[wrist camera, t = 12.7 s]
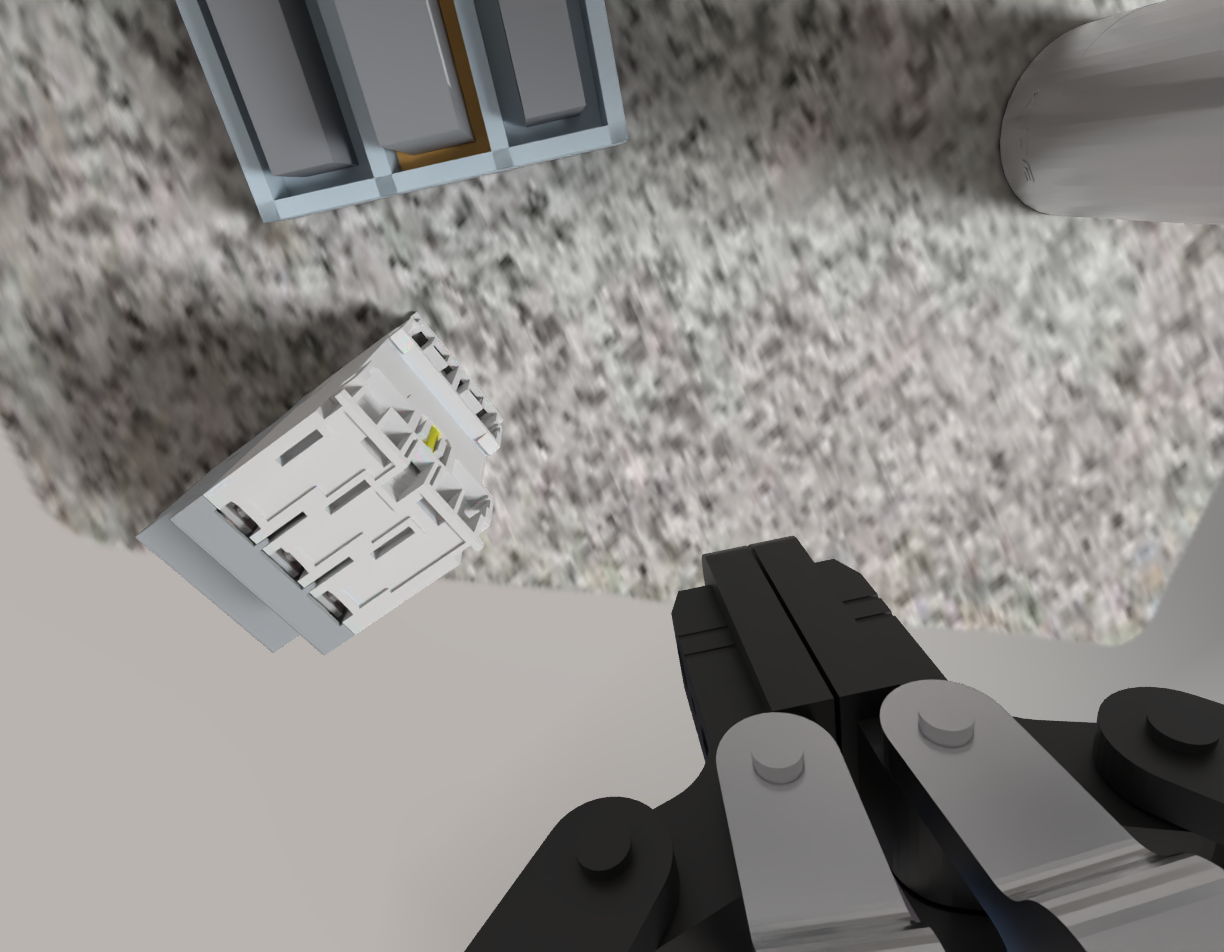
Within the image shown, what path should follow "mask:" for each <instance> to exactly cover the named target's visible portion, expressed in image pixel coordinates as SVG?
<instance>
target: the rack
mask: <svg viewBox="0 0 1224 952" xmlns="http://www.w3.org/2000/svg"><path fill="white" fill-rule="evenodd" d="M175 1H176V3H177V6H178V8H179V11H180V13H181V16H182V18H183V21H184V23H185V26H186V28H187V31H188V34H189V36H190V39H191V41H192V44H193V46H194V49H195V51H196V54H197V56H198V59H199V61H200V64H201V66H202V69H203V71H204V74H205V76H206V79H207V82H208V84H209V87H210V89H211V92H212V94H213V97H214V99H215V102H216V104H217V107H218V109H219V112H220V114H221V117H222V119H223V122H224V124H225V127H226V130H227V132H228V135H229V137H230V140H231V142H232V145H233V147H234V150H235V152H236V155H237V157H238V160H239V162H240V165H241V167H242V170H243V172H244V175H245V178H246V180H247V183H248V185H249V188H250V190H251V193H252V195H253V198H254V200H255V203H256V205H257V208H258V210H259V213H260V215H261V218H262V220H263V223H269V222H276V221H283V220H290V219H295V218H299V217H303V216H308V215H312V214H317V213H321V212H325V211H330V210H334V209H339V208H343V207H347V206H352V205H356V204H361V203H365V202H370V201H374V200H378V199H383V198H387V197H392V196H396V195H400V194H405V193H409V192H414V191H418V190H423V189H427V188H431V187H436V186H440V185H445V184H449V183H453V182H458V181H462V180H467V179H471V178H475V177H480V176H484V175H489V174H493V173H498V172H502V171H506V170H511V169H515V168H520V167H524V166H528V165H533V164H537V163H542V162H546V161H551V160H555V159H559V158H564V157H568V156H573V155H577V154H581V153H586V152H590V151H595V150H599V149H603V148H608V147H612V146H617V145H620V144H623V143H625V142H627V141H629V138H628V132H627V127H626V121H625V115H624V110H623V104H622V98H621V93H620V87H619V81H618V75H617V70H616V64H615V58H614V53H613V47H612V41H611V36H610V30H609V24H608V19H607V13H606V7H605V1H604V0H439V2H440V6H441V10H442V14H443V18H444V22H445V25H446V29H447V33H448V37H449V41H450V45H451V48H452V52H453V56H454V60H455V64H456V68H457V72H458V75H459V79H460V83H461V87H462V91H463V95H464V98H465V102H466V106H467V110H468V114H469V118H470V122H471V125H472V129H473V133H474V137H475V141H476V142H472V143H468V144H464V145H459V146H455V147H450V148H446V149H441V150H437V151H432V152H428V153H424V154H419V155H415V156H414V155H410V154H407V153H403V152H399V151H395V150H391V149H387V148H383V147H380V146H379V142H378V139H377V136H376V133H375V130H374V126H373V123H372V120H371V117H370V114H369V110H368V107H367V104H366V101H365V98H364V95H363V91H362V88H361V85H360V82H359V79H358V75H357V72H356V69H355V66H354V63H353V60H352V56H351V53H350V50H349V47H348V44H347V40H346V37H345V34H344V31H343V28H342V24H341V21H340V18H339V15H338V12H337V9H336V5H335V2H334V0H175Z"/></svg>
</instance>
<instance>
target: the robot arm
mask: <svg viewBox="0 0 1224 952" xmlns="http://www.w3.org/2000/svg"><path fill="white" fill-rule="evenodd" d="M1000 150H1001V162H1002V166H1003V169H1004V173H1005V176H1006V179H1007V181H1008V183H1009V185H1010V186H1011V188H1012V190H1013V192H1014V193H1015V194H1016V195H1017V196H1018V197H1019V198H1020V199H1021V200H1022V202H1023V203H1024V204H1026V205H1028V206H1029V207H1031V208H1033V209H1034V210H1036V211H1038V212H1042V213H1046V214H1050V215H1056V216H1074V217H1092V218H1106V219H1121V220H1139V221H1156V222H1174V223H1192V224H1209V225H1224V0H1166V1H1162V2H1159V3H1155V4H1151V5H1147V6H1144V7H1140V8H1137V9H1134V10H1130V11H1127V12H1123V13H1120V14H1117V15H1113V16H1110V17H1106V18H1103V19H1100V20H1096V21H1093V22H1089V23H1086V24H1083V25H1081V26H1078V27H1076V28H1074V29H1072V30H1070V31H1068V32H1065V33H1064V34H1062V35H1061V36H1060V37H1058V38H1057V39H1055V40H1054V41H1053V42H1051V43H1050V44H1049V45H1047V46H1046V47H1045V48H1044V49H1043V50H1042V51H1041V52H1040V53H1039V54H1038V55H1037V56H1036V57H1035V59H1034V60H1033V61H1032V62H1031V63H1030V64H1029V66H1028V67H1027V69H1026V70H1025V72H1024V73H1023V75H1022V76H1021V77H1020V79H1019V80H1018V82H1017V84H1016V87H1015V89H1014V91H1013V93H1012V95H1011V97H1010V99H1009V101H1008V105H1007V108H1006V111H1005V115H1004V118H1003V122H1002V130H1001V138H1000ZM702 567H703V574H704V581H705V586H702V587H697V588H692V589H688V590H683V591H678V594H677V597H676V601H675V604H674V607H673V610H672V613H671V614H672V620H673V625H674V631H675V637H676V643H677V649H678V654H679V660H680V666H681V672H682V677H683V683H684V688H685V692H686V695H687V699H688V702H689V706H690V710H691V712H692V716H693V720H694V723H695V727H696V731H697V733H698V737H699V741H700V745H701V748H702V752H703V755H704V759H705V766H704V768H703V770H702V771H701V773H700V775H699V776H698V777H697V779H696V780H695V781H694V782H693V783H692V784H691V785H690V786H689V787H688V788H687V789H686V790H685V791H683V792H682V793H680V794H679V795H677V796H676V797H674V798H673V799H671V800H669V801H667V802H665V803H664V804H662V805H660V806H658V807H656V808H655V809H651V808H650V807H649V806H647V805H645V804H643V803H641V802H640V801H637V800H633V799H630V798H624V797H606V798H599V799H596V800H592V801H589V802H587V803H585V804H583V805H581V806H578V807H577V808H575V809H574V810H572V811H571V812H569V813H568V814H567V815H566V816H565V817H563V818H562V819H561V820H560V821H559V822H558V824H557V825H556V826H555V827H554V828H553V830H552V831H551V832H550V834H549V835H548V836H547V838H546V839H545V841H544V842H543V844H542V845H541V846H540V848H539V849H538V850H537V852H536V853H535V855H534V856H533V857H532V859H531V860H530V862H529V863H528V864H527V866H526V867H525V868H524V870H523V871H522V872H521V874H520V875H519V877H518V878H517V879H516V881H515V882H514V884H513V885H512V886H511V888H510V889H509V890H508V892H507V893H506V895H505V896H504V897H503V899H502V900H501V902H500V903H499V904H498V906H497V907H496V909H495V910H494V911H493V913H492V914H491V915H490V917H489V918H488V920H487V921H486V922H485V924H484V925H483V926H482V928H481V929H480V931H479V932H478V933H477V935H476V936H475V938H474V939H473V940H472V942H471V943H470V944H469V946H468V947H467V949H466V950H465V951H464V952H1224V705H1223V704H1220V703H1217V702H1214V701H1211V700H1208V699H1205V698H1201V697H1199V696H1196V695H1192V694H1189V693H1185V692H1181V691H1176V690H1172V689H1167V688H1156V687H1136V688H1128V689H1125V690H1121V691H1118V692H1116V693H1114V694H1111V695H1110V696H1109V697H1107V698H1106V699H1105V700H1104V701H1103V703H1102V704H1101V706H1100V708H1099V712H1098V717H1097V723H1087V722H1067V721H1046V720H1032V719H1022V718H1018V717H1012V716H1011V715H1010V714H1009V713H1008V712H1007V711H1006V710H1005V709H1004V708H1003V707H1002V706H1001V705H999V704H998V703H997V702H996V701H995V700H994V699H992V698H991V697H989V696H987V695H986V694H984V693H982V692H980V691H978V690H976V689H974V688H971V687H969V686H966V685H964V684H960V683H956V682H952V681H948V680H947V679H946V678H945V677H944V675H943V674H942V673H941V672H940V670H939V669H938V668H937V667H936V665H935V664H934V663H933V662H932V661H931V659H930V658H929V657H928V656H927V654H926V653H925V652H924V651H923V650H922V648H921V647H920V646H919V645H918V643H917V642H916V641H915V640H914V639H913V637H912V636H911V635H910V634H909V632H908V631H907V630H906V629H905V627H904V626H903V625H902V624H901V622H900V621H899V620H898V619H897V618H896V616H893V615H892V613H891V610H890V609H889V608H888V606H887V605H886V604H885V603H884V602H883V600H882V599H881V598H878V595H877V593H876V592H875V591H874V589H873V588H872V587H871V586H870V584H869V583H868V582H867V581H866V579H865V578H864V577H863V576H862V575H861V574H860V573H859V572H857V571H855V570H853V569H851V568H849V567H848V566H846V565H844V564H842V563H840V562H839V561H837V560H835V559H831V560H826V561H821V562H817V563H814V562H813V560H812V559H811V558H810V556H809V555H808V553H807V552H806V551H805V549H804V548H803V546H802V545H801V544H800V542H799V541H798V539H797V538H796V537H795V536H789V537H784V538H779V539H775V540H770V541H765V542H760V543H755V544H750V545H749V546H748V547H747V546H742V547H737V548H732V549H727V550H722V551H718V552H713V553H708V554H703V555H702Z"/></svg>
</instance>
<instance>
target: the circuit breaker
mask: <svg viewBox="0 0 1224 952" xmlns="http://www.w3.org/2000/svg"><path fill="white" fill-rule="evenodd" d="M419 332H422V333H423V334H424V335H425V337H426V338H427V339H428V341H427V342H426V344H424V345H423V346H422V347H419V345H418V344H417V343H416V342H415V341H414V339H413V338H412V336H413V335H415V334H417V333H419ZM434 345H435V347H436V348H437V349H438V350H439V352H440V353H441V354H442V355H443V356H444V358H445V360H444V359H443V357H442V356H441V355H440V354H439V352H438V351H437V350H436V349H435V348H434ZM448 365H449V366H450V367H451V369H452V370H453V371H451V372H450V373H448V374H446V373H445V372H444V371H443V369H444V368H446V367H447V366H448ZM460 380H461V381H462V382H463V383H464V384H462V385H461V386H459V387H458V385H459V382H460ZM470 390H471V391H472V392H473V393H474V394H475V396H476V397H477V398H478V399H479V401H478V400H477V399H476V398H475V397H474V395H473V394H472V393H471V392H470ZM483 408H484V409H485V410H486V411H487V413H485V414H484V415H483V416H481V417H480V418H478V417H477V416H476V414H477V413H478V412H479V411H481V410H482V409H483ZM503 420H504V419H503V418H502V416H501V415H500V414H499V413H498V411H497V410H496V409H495V408H494V407H493V405H492V404H491V403H490V402H489V400H488V399H487V398H486V397H485V395H484V394H483V393H482V392H481V390H480V389H479V388H478V387H477V385H476V384H475V383H474V382H473V381H472V379H471V378H470V377H469V376H468V374H467V373H466V372H465V371H464V369H463V368H462V367H461V366H460V364H459V363H458V362H457V361H456V360H455V358H454V357H453V356H452V355H451V353H450V352H449V351H448V350H447V348H446V347H445V346H444V345H443V343H442V342H441V341H440V340H439V338H438V337H437V336H436V335H435V334H434V332H433V331H432V330H431V329H430V327H429V326H428V325H427V324H426V322H425V321H424V320H423V319H422V317H421V316H420V315H419V314H418V312H416V313H414V314H413V315H412V316H410V319H408V320H407V321H406V322H404V323H403V324H402V325H400V326H399V327H398V326H397V327H396V328H394V329H393V330H392V331H390V332H389V333H388V334H386V335H385V336H384V337H382V338H381V339H380V340H378V341H377V342H376V343H374V344H373V345H372V346H370V347H369V348H368V349H366V350H365V351H364V352H362V353H361V354H360V355H358V356H357V357H356V358H354V359H353V360H352V361H350V362H349V363H348V364H346V365H345V366H344V367H342V368H341V369H340V370H338V371H337V372H336V373H334V374H333V375H332V376H330V377H329V378H328V379H326V380H325V381H324V382H322V383H321V384H320V385H318V386H317V387H316V388H314V389H313V390H312V391H310V392H309V393H308V394H306V395H305V396H304V397H302V398H301V399H300V400H299V401H298V402H297V403H296V404H295V405H294V406H292V407H291V408H290V410H289V411H287V412H286V413H285V414H284V415H283V416H282V417H280V418H279V419H278V420H277V421H276V422H274V423H273V424H272V425H270V426H269V427H268V428H266V429H265V430H264V431H262V432H261V433H260V434H258V435H257V436H256V437H254V438H253V439H252V440H250V441H249V442H248V443H246V444H245V445H244V446H242V447H241V448H240V449H238V450H237V451H236V452H234V453H233V454H232V455H230V456H229V457H228V458H226V459H225V460H224V461H222V462H221V463H220V464H218V465H217V466H216V467H214V468H213V469H212V470H211V471H210V472H208V473H207V474H206V475H205V476H204V477H203V478H202V479H200V480H199V481H198V482H197V483H196V484H195V485H194V486H193V487H191V488H190V489H189V490H188V491H187V492H186V493H185V494H183V495H182V496H181V497H180V498H179V499H178V500H177V501H176V502H174V503H173V504H172V505H171V506H170V507H169V508H167V509H166V510H165V511H163V512H162V513H161V514H160V515H159V516H158V517H157V518H156V519H155V520H154V521H153V522H152V523H151V524H150V525H148V526H147V527H146V528H145V529H144V530H143V531H142V532H140V533H139V534H138V535H137V536H136V537H135V538H137V539H138V540H139V541H140V542H141V543H143V544H144V545H145V546H146V547H147V548H149V549H150V550H151V551H152V552H153V553H155V554H156V555H157V556H158V557H159V558H161V559H162V560H163V561H164V562H165V563H166V564H168V565H169V566H170V567H171V568H173V569H174V570H175V571H176V572H178V574H180V575H181V576H182V577H183V578H184V579H186V580H187V581H188V582H189V583H190V584H191V585H193V586H194V587H195V588H196V589H197V590H199V591H200V592H201V593H202V594H203V595H205V596H206V597H207V598H208V599H209V600H211V601H212V602H213V603H214V604H215V605H216V606H218V607H219V608H220V609H221V610H223V611H224V612H225V613H226V614H227V615H228V616H230V617H231V618H232V619H233V620H234V621H236V622H237V623H238V624H239V625H240V626H242V627H243V628H244V629H245V630H246V631H247V632H249V633H250V634H251V635H252V636H253V637H255V638H256V639H257V640H258V641H259V642H261V643H262V644H263V645H264V646H265V647H267V648H268V649H269V650H270V651H271V652H273V653H274V652H276V651H277V650H278V649H280V648H281V647H283V646H284V645H285V644H287V643H289V642H290V641H292V640H293V639H294V638H296V637H297V636H299V635H301V636H302V637H303V638H305V639H306V640H307V641H308V642H309V643H310V644H311V645H313V646H314V647H315V648H316V649H317V650H318V651H319V652H321V653H322V654H323V655H326V654H327V653H329V652H330V651H332V650H333V649H335V648H336V647H338V646H339V645H341V644H342V643H344V642H345V641H347V640H348V639H350V638H351V637H353V636H354V635H355V634H357V633H358V632H360V631H361V630H363V629H364V628H366V627H367V626H369V625H370V624H372V623H373V622H375V621H376V620H378V619H379V618H381V617H382V616H384V615H385V614H386V613H388V612H390V611H391V610H392V609H394V608H396V607H397V606H399V605H400V604H401V603H403V602H404V601H406V600H407V599H409V598H410V597H412V596H413V595H415V594H416V593H418V592H419V591H421V590H422V589H424V588H425V587H427V586H428V585H429V584H431V583H433V582H434V581H436V580H437V579H439V578H440V577H441V576H443V575H444V574H446V573H447V572H449V571H450V570H452V569H453V568H455V567H456V566H458V565H459V564H460V561H461V556H462V551H463V550H464V549H466V548H467V547H469V546H470V545H471V546H472V547H473V548H474V550H475V551H476V552H479V551H480V550H481V549H483V545H484V543H483V541H482V540H481V539H480V538H479V537H478V534H479V533H481V532H482V531H484V530H485V529H487V528H488V527H489V525H490V522H491V517H492V509H493V501H494V497H493V496H492V495H491V494H490V492H489V491H488V490H487V489H486V488H485V487H484V486H483V484H482V478H483V472H484V466H485V460H486V457H487V456H488V455H489V456H490V455H491V454H492V453H494V452H495V451H496V450H497V449H498V448H500V444H501V436H502V427H501V425H500V423H501V422H503Z"/></svg>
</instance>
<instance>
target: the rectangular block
mask: <svg viewBox="0 0 1224 952" xmlns="http://www.w3.org/2000/svg"><path fill="white" fill-rule="evenodd" d="M334 2H335V5H336V9H337V12H338V15H339V18H340V21H341V24H342V28H343V31H344V34H345V37H346V40H347V44H348V47H349V50H350V53H351V56H352V60H353V63H354V66H355V69H356V72H357V75H358V79H359V82H360V85H361V88H362V91H363V95H364V98H365V101H366V104H367V107H368V110H369V114H370V117H371V120H372V123H373V126H374V130H375V133H376V136H377V139H378V142H379V146H380V147H383V148H387V149H391V150H395V151H399V152H403V153H407V154H410V155H414V156H415V155H419V154H424V153H428V152H432V151H437V150H441V149H446V148H450V147H455V146H459V145H464V144H468V143H472V142H476V141H475V137H474V133H473V129H472V125H471V122H470V118H469V114H468V110H467V106H466V102H465V98H464V95H463V91H462V87H461V83H460V79H459V75H458V72H457V68H456V64H455V60H454V56H453V52H452V48H451V45H450V41H449V37H448V33H447V29H446V25H445V22H444V18H443V14H442V10H441V6H440V2H439V0H334Z"/></svg>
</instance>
